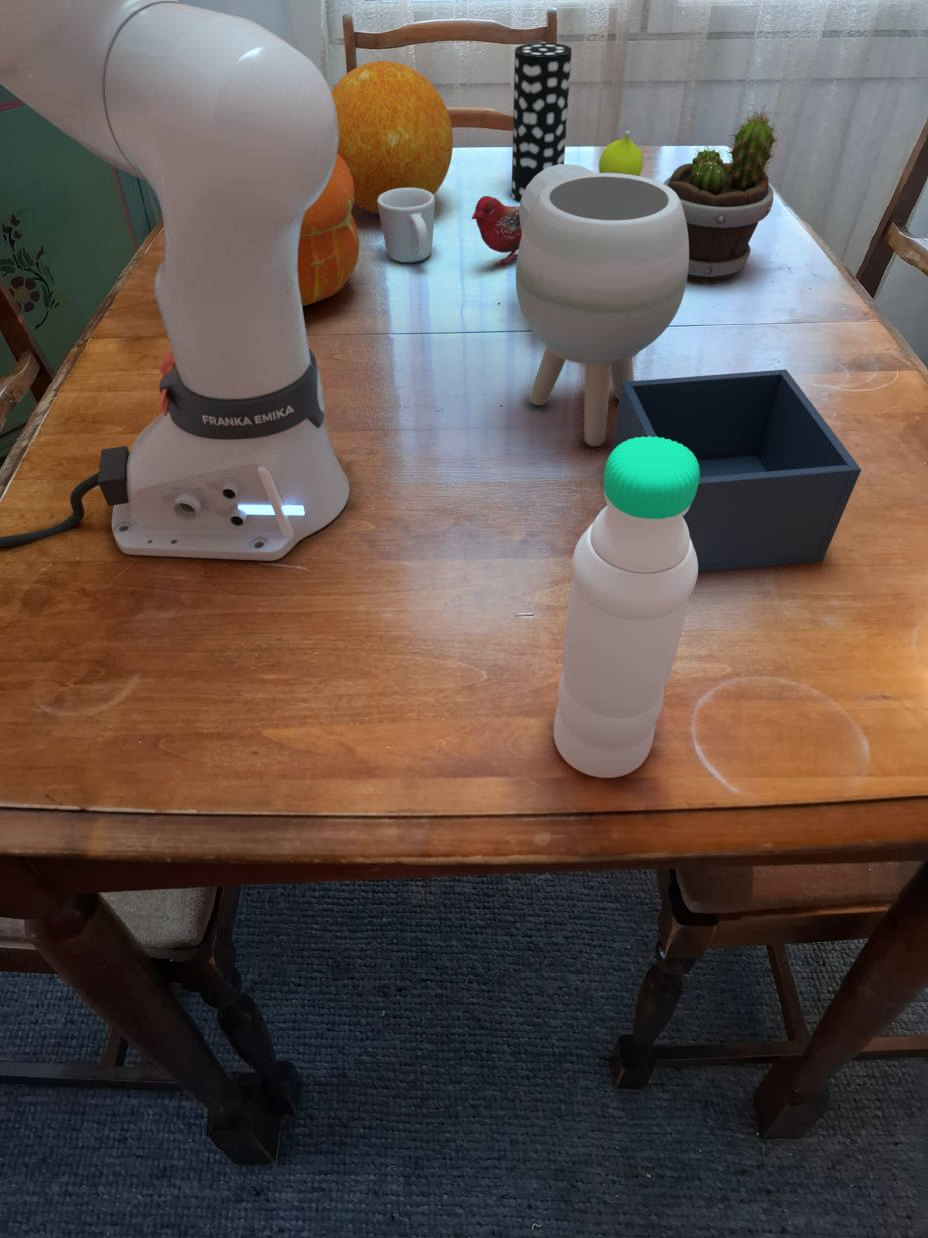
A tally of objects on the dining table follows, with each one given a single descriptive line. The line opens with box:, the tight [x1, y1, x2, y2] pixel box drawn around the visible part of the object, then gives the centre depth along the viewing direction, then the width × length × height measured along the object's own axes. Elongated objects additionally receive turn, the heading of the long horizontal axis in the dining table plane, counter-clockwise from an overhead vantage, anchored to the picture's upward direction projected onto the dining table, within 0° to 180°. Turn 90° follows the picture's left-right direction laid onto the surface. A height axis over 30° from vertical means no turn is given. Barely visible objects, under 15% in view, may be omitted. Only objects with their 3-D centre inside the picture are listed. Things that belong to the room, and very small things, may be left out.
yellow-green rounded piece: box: [598, 130, 644, 177], centre depth 130 cm, size 7×7×10 cm
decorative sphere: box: [331, 60, 454, 215], centre depth 121 cm, size 20×20×20 cm
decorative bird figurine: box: [470, 195, 522, 267], centre depth 111 cm, size 3×18×10 cm, turn 131°
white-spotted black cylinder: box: [511, 42, 573, 203], centre depth 124 cm, size 8×8×20 cm
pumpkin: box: [298, 154, 360, 307], centre depth 101 cm, size 23×23×20 cm
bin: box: [611, 368, 862, 574], centre depth 72 cm, size 16×16×10 cm
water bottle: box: [553, 436, 700, 779], centre depth 49 cm, size 7×7×25 cm
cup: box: [377, 188, 436, 263], centre depth 112 cm, size 11×8×8 cm
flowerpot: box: [662, 103, 782, 284], centre depth 105 cm, size 14×15×20 cm
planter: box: [515, 172, 689, 448], centre depth 79 cm, size 16×16×22 cm
